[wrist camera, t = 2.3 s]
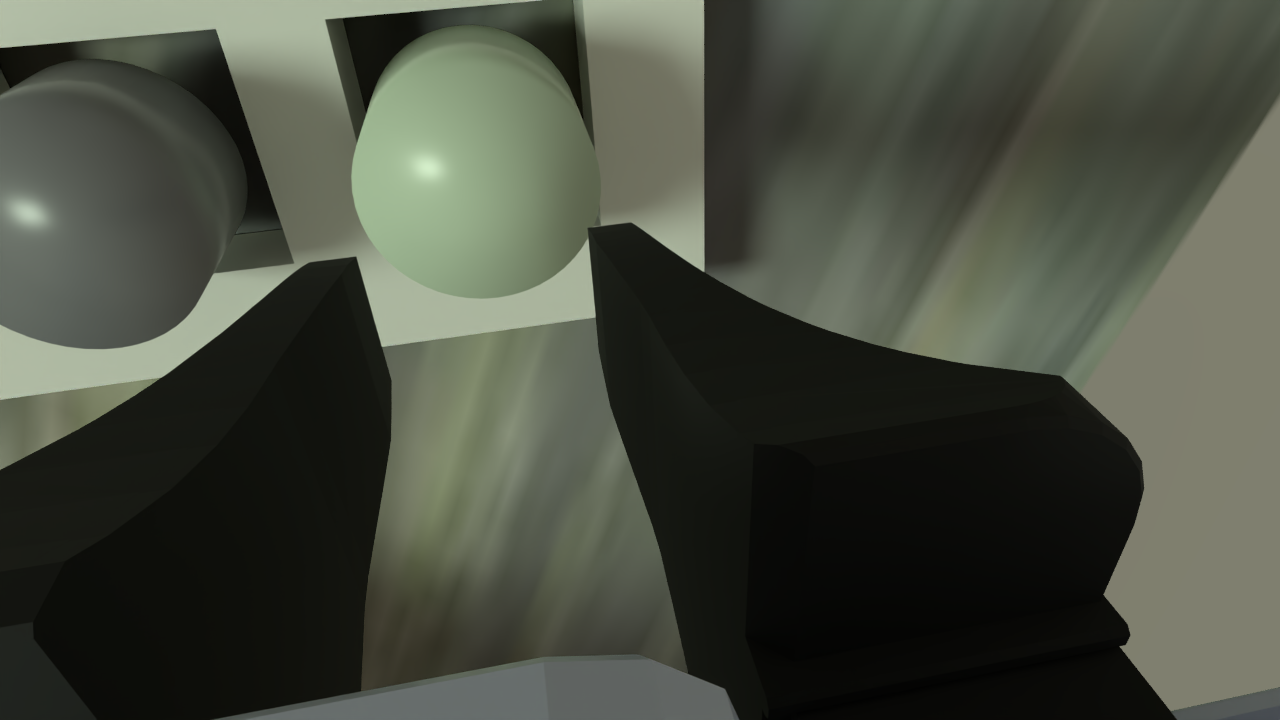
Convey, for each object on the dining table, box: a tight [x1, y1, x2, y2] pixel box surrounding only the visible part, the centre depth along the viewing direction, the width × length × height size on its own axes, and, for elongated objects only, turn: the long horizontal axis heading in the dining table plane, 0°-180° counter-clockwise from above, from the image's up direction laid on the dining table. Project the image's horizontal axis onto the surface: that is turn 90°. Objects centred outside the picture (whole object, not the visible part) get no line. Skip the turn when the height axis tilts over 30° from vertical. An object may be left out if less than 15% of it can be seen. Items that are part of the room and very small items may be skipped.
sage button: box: [351, 25, 601, 299], centre depth 16 cm, size 4×4×3 cm
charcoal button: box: [0, 59, 248, 349], centre depth 15 cm, size 4×4×3 cm
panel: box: [0, 0, 704, 400], centre depth 17 cm, size 10×24×2 cm, turn 93°
